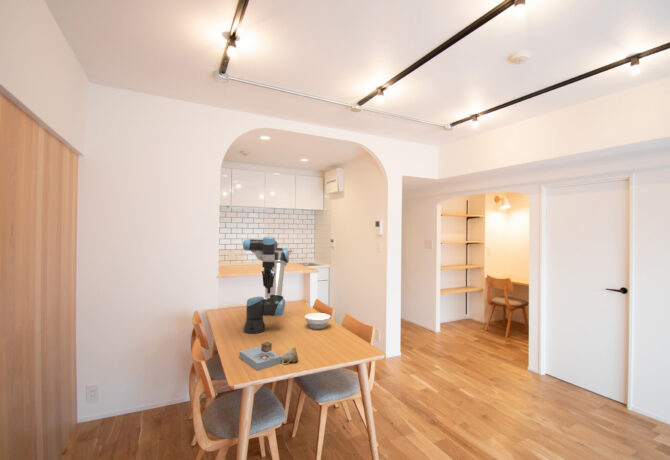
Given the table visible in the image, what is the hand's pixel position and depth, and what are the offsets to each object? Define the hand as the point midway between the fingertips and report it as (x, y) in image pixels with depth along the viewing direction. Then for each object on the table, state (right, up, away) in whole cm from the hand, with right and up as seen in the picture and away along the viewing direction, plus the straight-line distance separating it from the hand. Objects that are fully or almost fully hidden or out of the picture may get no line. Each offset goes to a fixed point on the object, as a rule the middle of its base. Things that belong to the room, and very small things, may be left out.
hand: (267, 298), depth 195 cm
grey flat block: (+2, -28, -27) cm, 39 cm away
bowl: (+30, -30, +35) cm, 55 cm away
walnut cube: (+4, -25, -22) cm, 33 cm away
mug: (+18, -29, -28) cm, 44 cm away
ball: (+5, -26, -31) cm, 41 cm away
